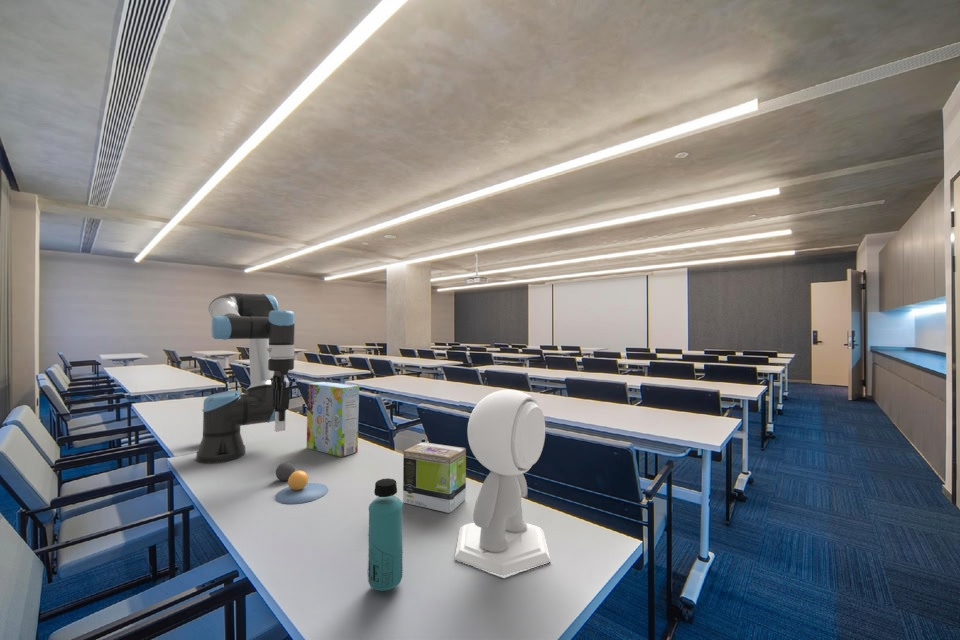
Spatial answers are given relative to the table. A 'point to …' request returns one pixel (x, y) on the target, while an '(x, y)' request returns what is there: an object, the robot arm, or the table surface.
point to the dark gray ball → (284, 471)
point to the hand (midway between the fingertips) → (280, 430)
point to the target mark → (302, 494)
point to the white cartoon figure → (504, 484)
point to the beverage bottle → (385, 537)
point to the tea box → (434, 476)
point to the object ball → (298, 480)
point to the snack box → (333, 418)
